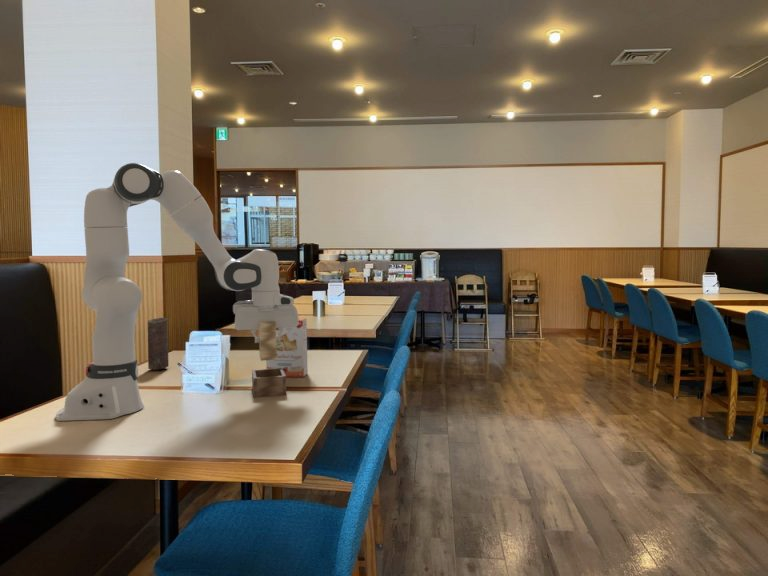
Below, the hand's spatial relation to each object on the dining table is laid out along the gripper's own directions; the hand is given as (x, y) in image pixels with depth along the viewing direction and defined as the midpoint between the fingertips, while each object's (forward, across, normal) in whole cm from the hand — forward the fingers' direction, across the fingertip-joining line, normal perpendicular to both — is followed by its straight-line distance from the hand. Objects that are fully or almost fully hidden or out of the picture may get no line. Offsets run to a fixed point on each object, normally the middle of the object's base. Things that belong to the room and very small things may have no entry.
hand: (267, 342), depth 181 cm
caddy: (+16, 0, 0) cm, 16 cm away
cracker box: (+16, +8, +21) cm, 28 cm away
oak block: (+5, 0, 0) cm, 5 cm away
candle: (+16, -39, +48) cm, 64 cm away
